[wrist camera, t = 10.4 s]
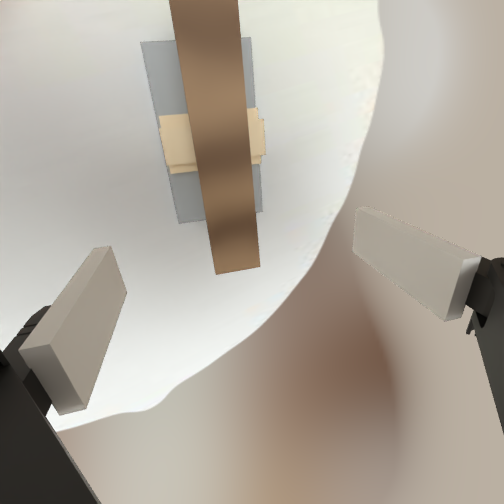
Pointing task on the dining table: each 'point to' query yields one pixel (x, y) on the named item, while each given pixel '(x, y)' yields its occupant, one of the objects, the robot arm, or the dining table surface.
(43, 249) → the dining table surface
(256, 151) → the fulcrum
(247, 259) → the bar
